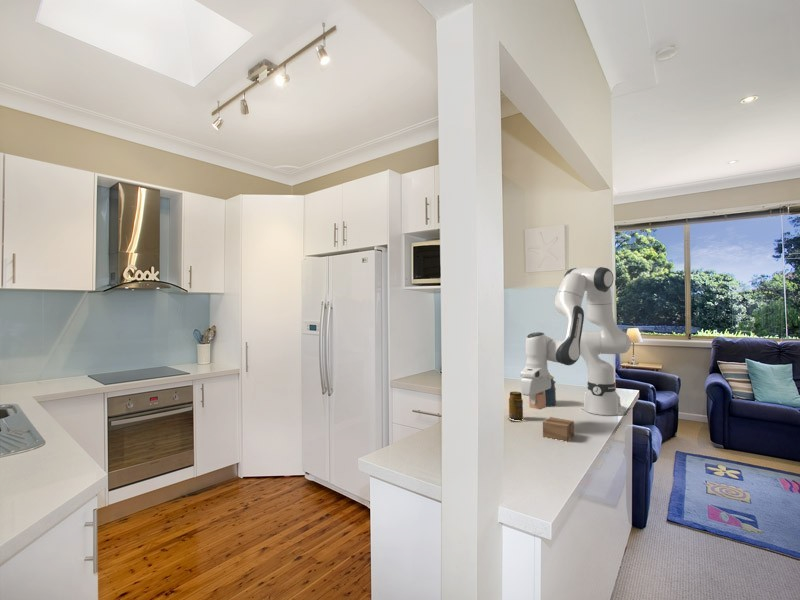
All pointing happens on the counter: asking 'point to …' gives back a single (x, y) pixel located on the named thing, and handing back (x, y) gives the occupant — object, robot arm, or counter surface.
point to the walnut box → (558, 429)
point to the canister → (551, 394)
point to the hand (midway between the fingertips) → (537, 402)
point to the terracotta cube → (538, 401)
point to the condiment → (516, 406)
